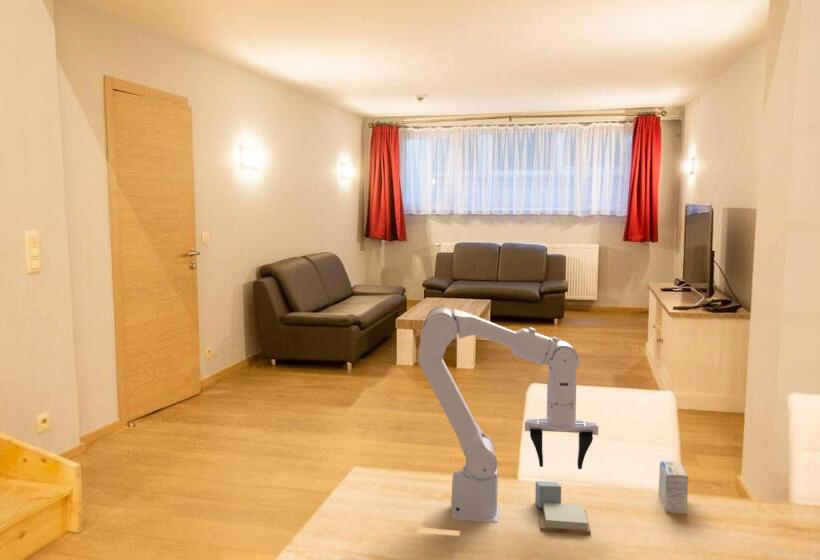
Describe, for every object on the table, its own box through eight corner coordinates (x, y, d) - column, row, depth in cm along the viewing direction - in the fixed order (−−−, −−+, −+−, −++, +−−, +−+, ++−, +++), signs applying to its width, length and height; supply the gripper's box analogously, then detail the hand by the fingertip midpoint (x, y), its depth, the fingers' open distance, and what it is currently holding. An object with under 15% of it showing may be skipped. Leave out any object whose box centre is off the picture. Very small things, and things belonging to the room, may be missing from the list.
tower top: (545, 527, 130) (546, 520, 130) (543, 508, 138) (543, 502, 137) (587, 530, 129) (588, 523, 129) (582, 511, 137) (582, 504, 136)
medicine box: (687, 516, 136) (689, 476, 135) (664, 514, 137) (666, 474, 136) (679, 500, 144) (681, 461, 143) (657, 498, 145) (659, 460, 144)
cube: (539, 507, 138) (539, 485, 138) (535, 502, 142) (535, 481, 143) (560, 508, 138) (561, 486, 138) (556, 503, 142) (556, 481, 142)
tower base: (540, 534, 130) (540, 527, 130) (538, 513, 139) (538, 506, 139) (590, 538, 128) (590, 531, 128) (585, 516, 138) (585, 509, 138)
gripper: (524, 405, 132) (523, 471, 133) (600, 408, 129) (598, 476, 130) (525, 395, 139) (524, 458, 140) (597, 398, 136) (595, 462, 137)
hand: (560, 466), depth 136 cm, fingers open, 7 cm apart
